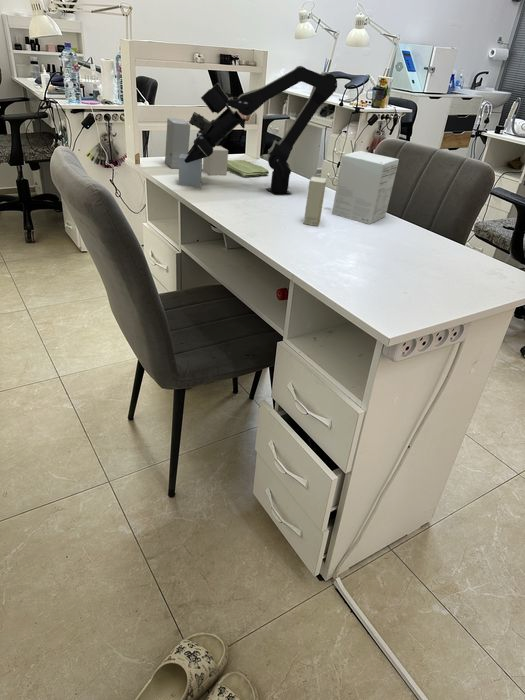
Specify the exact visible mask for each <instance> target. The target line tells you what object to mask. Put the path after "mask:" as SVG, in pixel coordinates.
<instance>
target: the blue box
mask: <svg viewBox="0 0 525 700" xmlns="http://www.w3.org/2000/svg"><path fill="white" fill-rule="evenodd" d="M188 155H189V154H181V155H180V157H179V168H178V186H184V187H193V188H201V184H202V172H203V158H202V159H198V160H195V161H192V162H189V163H186V162H185V161H184V160H185V159H186V157H187V156H188Z"/></svg>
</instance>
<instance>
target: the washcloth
mask: <svg viewBox="0 0 525 700" xmlns="http://www.w3.org/2000/svg"><path fill="white" fill-rule="evenodd" d="M228 171H230V172H229V173H231V172H232V174H234V173H235V175H237V176H240V177H241V176H242V177H241V178H244V177H245V178H251V177H250V176H254V177H258V176H259V175H261V176H267V175H266V174H269V173H270V171H269V170H268V169H267V168H266V167H264V166H262V165H258V164H254V163H252V162H250V161H248V160H246V159H243V160H242V159H234V160H229V159H228V161H227V172H228Z"/></svg>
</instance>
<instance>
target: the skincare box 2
mask: <svg viewBox="0 0 525 700" xmlns="http://www.w3.org/2000/svg"><path fill="white" fill-rule="evenodd" d="M308 183H309V184H308V190H307V197H306V204H305V212H304V218H303V219H304V220H303V224H305V225H308V224H310V225H309V226H314V225H315V226H316V227H318V226H319V224H320V223H321V222H320V221H321V216H322V210H323V204H324V198H325V197H324V196H325V192H326V184H327V178H325V177H318V176H311V177H310V179H309V182H308Z"/></svg>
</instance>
